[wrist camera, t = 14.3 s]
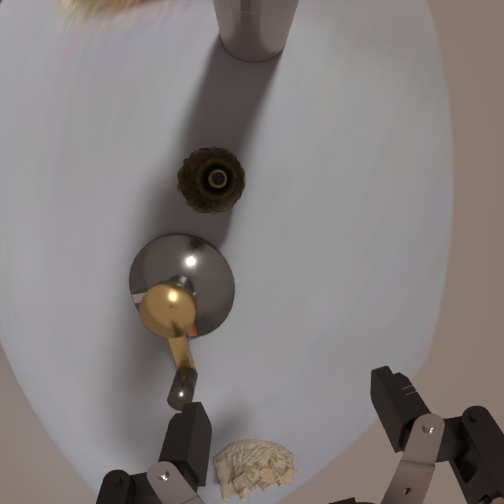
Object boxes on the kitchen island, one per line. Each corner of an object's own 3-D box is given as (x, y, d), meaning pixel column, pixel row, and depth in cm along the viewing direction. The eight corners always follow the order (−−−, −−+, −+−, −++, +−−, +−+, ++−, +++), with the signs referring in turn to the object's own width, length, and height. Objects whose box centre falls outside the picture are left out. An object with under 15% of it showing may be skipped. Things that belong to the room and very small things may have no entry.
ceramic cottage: (203, 459, 54) (201, 511, 40) (250, 428, 52) (257, 488, 37) (253, 477, 58) (258, 524, 44) (300, 450, 56) (314, 500, 41)
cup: (255, 190, 39) (257, 195, 31) (207, 215, 40) (197, 225, 32) (230, 142, 37) (225, 134, 30) (182, 167, 38) (166, 167, 31)
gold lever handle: (139, 283, 36) (116, 309, 28) (190, 277, 36) (176, 303, 28) (169, 375, 40) (157, 410, 32) (214, 373, 40) (209, 409, 32)
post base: (118, 246, 41) (101, 257, 35) (220, 223, 40) (215, 231, 35) (150, 338, 45) (139, 359, 39) (245, 324, 44) (244, 346, 39)
